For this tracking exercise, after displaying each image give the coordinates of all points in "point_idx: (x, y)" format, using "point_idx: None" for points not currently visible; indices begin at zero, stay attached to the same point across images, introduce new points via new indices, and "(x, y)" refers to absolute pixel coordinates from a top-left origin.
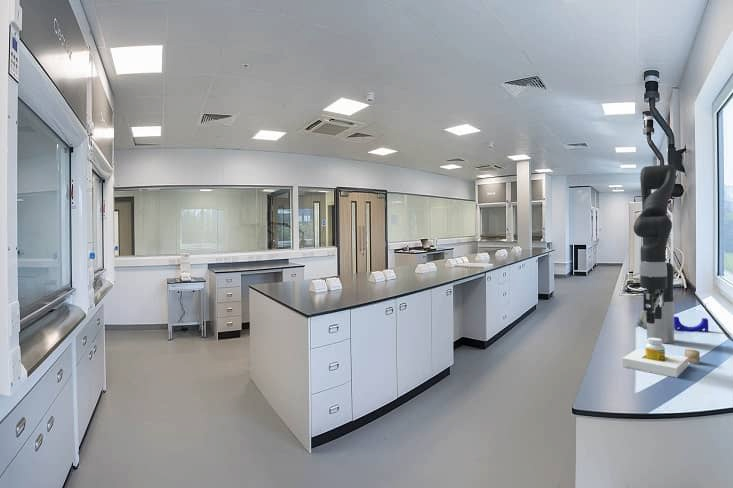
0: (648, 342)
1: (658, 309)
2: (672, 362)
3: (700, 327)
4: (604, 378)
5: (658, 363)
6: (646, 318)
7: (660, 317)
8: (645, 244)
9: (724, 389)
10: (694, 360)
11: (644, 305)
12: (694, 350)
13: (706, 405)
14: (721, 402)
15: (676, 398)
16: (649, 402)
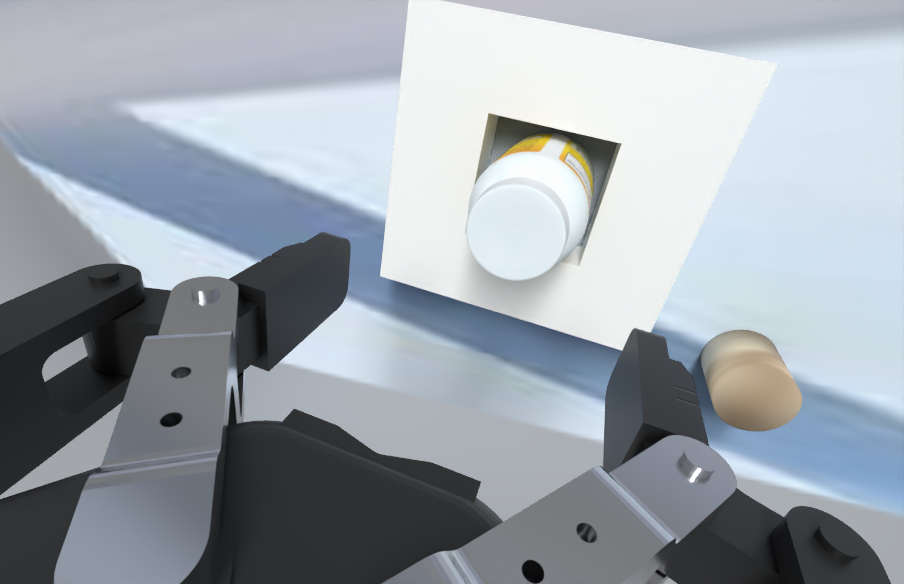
0: (502, 181)
1: (613, 464)
2: (479, 271)
3: None
4: None
5: (416, 205)
6: (297, 247)
7: (608, 396)
8: None
9: (363, 378)
10: (704, 373)
11: (13, 314)
12: (775, 415)
13: None
14: None
15: (175, 235)
16: (80, 156)
